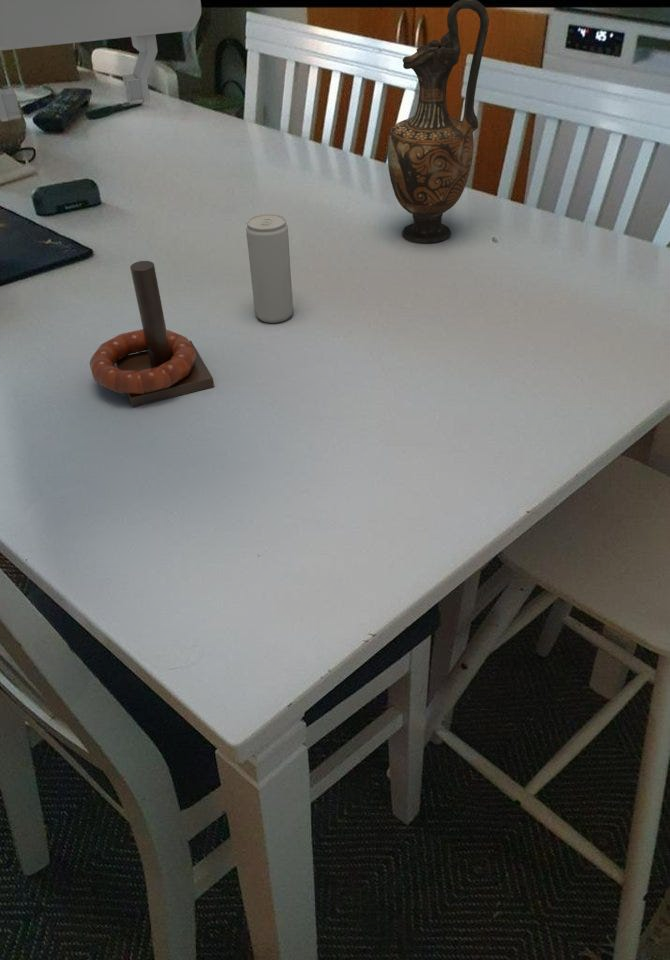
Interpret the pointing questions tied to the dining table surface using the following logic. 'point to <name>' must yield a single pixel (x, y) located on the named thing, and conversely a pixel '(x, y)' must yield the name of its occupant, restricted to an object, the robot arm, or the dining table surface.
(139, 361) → the post
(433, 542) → the dining table surface
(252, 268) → the beverage can
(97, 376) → the ring
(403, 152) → the vase
